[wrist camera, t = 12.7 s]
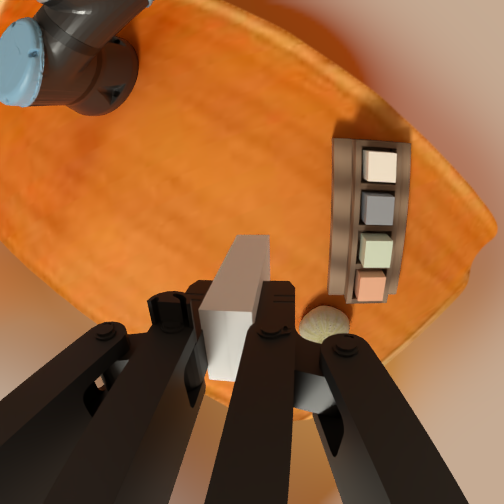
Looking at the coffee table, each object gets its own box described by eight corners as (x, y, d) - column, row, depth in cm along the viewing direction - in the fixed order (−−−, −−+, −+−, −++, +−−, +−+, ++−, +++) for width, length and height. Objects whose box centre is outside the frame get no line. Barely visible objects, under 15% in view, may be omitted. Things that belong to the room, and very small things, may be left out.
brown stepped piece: (331, 138, 44) (337, 138, 38) (405, 142, 42) (418, 144, 37) (327, 287, 53) (330, 304, 48) (392, 287, 51) (400, 302, 46)
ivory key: (362, 149, 40) (368, 151, 37) (389, 151, 40) (396, 153, 36) (362, 177, 42) (368, 181, 38) (388, 178, 41) (395, 182, 38)
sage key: (361, 232, 44) (366, 240, 40) (386, 233, 43) (393, 241, 40) (358, 258, 45) (363, 267, 42) (383, 258, 45) (389, 267, 41)
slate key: (361, 191, 42) (367, 195, 39) (387, 192, 42) (394, 197, 39) (360, 217, 44) (365, 224, 41) (385, 218, 43) (392, 225, 40)
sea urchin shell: (305, 356, 56) (300, 353, 49) (299, 317, 60) (293, 308, 53) (352, 347, 55) (354, 343, 48) (345, 308, 58) (346, 297, 51)
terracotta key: (356, 267, 47) (360, 277, 43) (380, 267, 46) (386, 277, 43) (354, 290, 48) (357, 301, 45) (377, 290, 48) (382, 300, 44)
